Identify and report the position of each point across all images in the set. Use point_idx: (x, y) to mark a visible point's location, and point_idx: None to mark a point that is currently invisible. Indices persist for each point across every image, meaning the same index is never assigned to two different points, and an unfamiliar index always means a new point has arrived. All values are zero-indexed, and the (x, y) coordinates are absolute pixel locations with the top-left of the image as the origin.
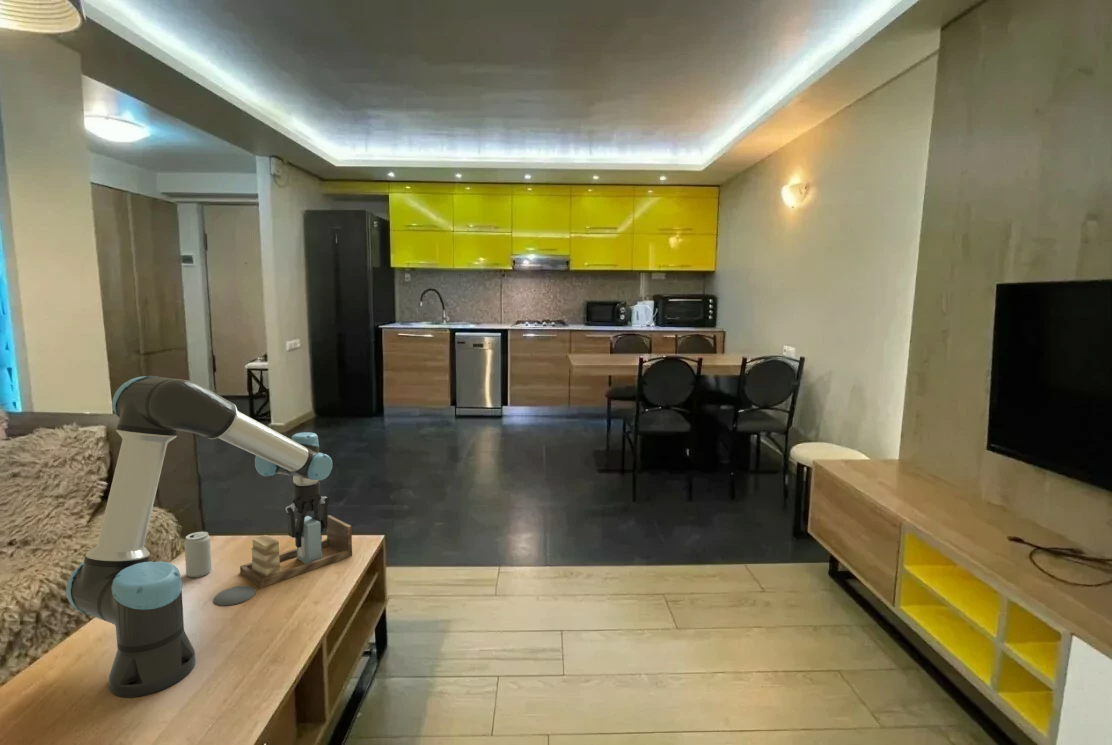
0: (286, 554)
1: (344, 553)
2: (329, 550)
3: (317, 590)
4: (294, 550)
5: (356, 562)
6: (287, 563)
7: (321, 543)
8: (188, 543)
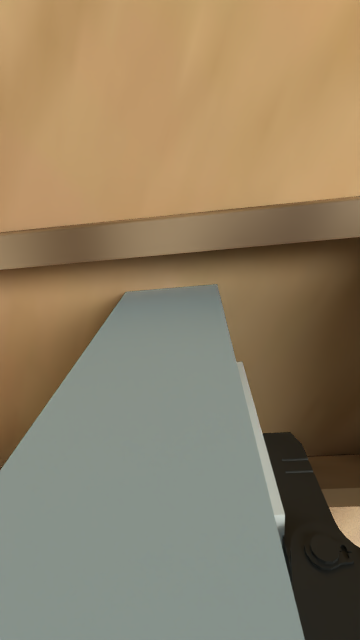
0: (44, 263)
1: (356, 498)
2: (350, 316)
3: None
4: (107, 255)
5: (351, 539)
6: (53, 323)
7: (357, 234)
8: None
